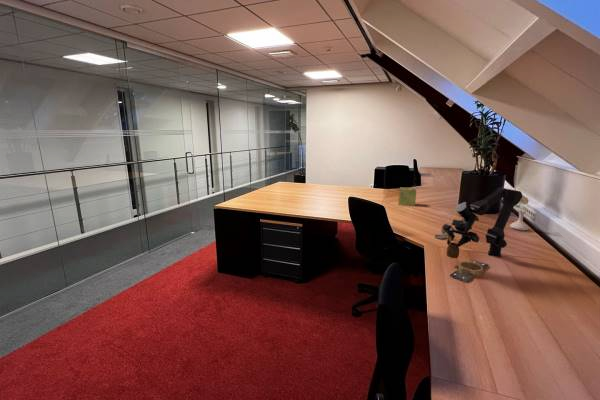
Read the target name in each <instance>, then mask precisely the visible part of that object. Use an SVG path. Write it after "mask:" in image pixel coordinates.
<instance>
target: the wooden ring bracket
mask: <svg viewBox="0 0 600 400" xmlns="http://www.w3.org/2000/svg"><path fill="white" fill-rule="evenodd" d="M489 267H490V264H488V263H484V262H482V261H478V260H475V259H473V260H470V261H467V260H466V261H464V260H463V261H459V262H458V265H457V270H455V271H453V272H452V273H450V274H449V277H450V278H453V279H455V280H459V281H462V282H464V283H468V282H470V281H471V280H472V279H473V278H475V277H481V276H482V275H483V274H484V273H483V272H484V270H486V269H487V268H489Z"/></svg>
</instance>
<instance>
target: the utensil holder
mask: <svg viewBox="0 0 600 400" xmlns="http://www.w3.org/2000/svg"><path fill="white" fill-rule="evenodd" d="M449 237H450V238H449V241H450V243H449V244H447V245H448V246H447V248H446V256H447V257H448V258H450V259H451V258H452V259H457V258H459V256H460V247H458V248H457V247H456V245H457V244H458V242H459V241H460V240H459V237H457V236H455V237H454V241H458V242H452V241H451V240H450V239H451V236H449Z"/></svg>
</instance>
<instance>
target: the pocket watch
mask: <svg viewBox="0 0 600 400" xmlns="http://www.w3.org/2000/svg"><path fill="white" fill-rule="evenodd" d="M444 224H447V225H448V223H444ZM440 231H441V234H435V235H434V238H435V239H438V240H445V239H446V237H448V233H446V232H445V231H444V229H443V228H442V227H441V230H440Z"/></svg>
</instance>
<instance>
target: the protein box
mask: <svg viewBox="0 0 600 400" xmlns="http://www.w3.org/2000/svg"><path fill="white" fill-rule="evenodd" d="M398 191H399V192H398V203H397V204H398V205H400V206H408V207H410V206H411V207H416V198H417V187H415V188H414V187H399V190H398Z"/></svg>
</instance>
